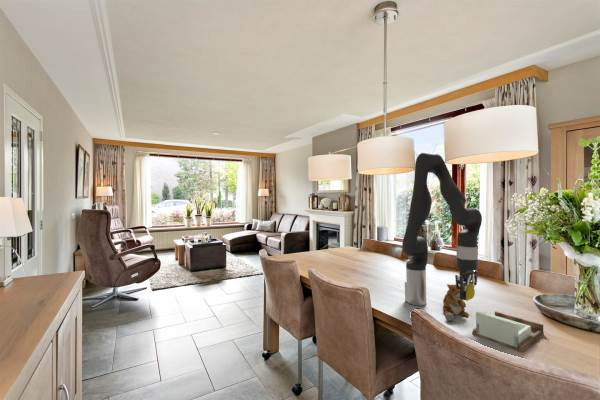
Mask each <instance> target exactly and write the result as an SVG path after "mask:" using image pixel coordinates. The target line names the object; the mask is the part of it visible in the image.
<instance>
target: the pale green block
mask: <svg viewBox="0 0 600 400" xmlns="http://www.w3.org/2000/svg"><path fill="white" fill-rule="evenodd" d="M481 312H482V311H476V312H475V328H476V333H477V334H480V335H483V336H486V337H488V338H491V339H494V340H497V341H500V342H503V343H505V344H508V345H511V346H514V347H517V348H518V347H519V345H520V344H522V343H523V342H524V341H525V340H527V339H528V338H529V337H531V326H529V325H526V324H522V323H519V322H515V321H512V320H508V319H505V318H502V317H498V316H495V314H487V313H486V314H484V313H481Z"/></svg>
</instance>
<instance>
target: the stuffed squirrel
mask: <svg viewBox="0 0 600 400" xmlns="http://www.w3.org/2000/svg"><path fill="white" fill-rule="evenodd" d="M446 287H447V288H448V290H447V291H446V293H445V295H444V298H443V301H442V302H443V303H442V304H443V305H442V311H443V314H444V315H445V314H446V313H452V314H453V315H457V316H458V315H460V316H462V317H469V316H470V314H469V313H468V312H467V311H465V308H466V307H467V304H466V302H465V300H462V299H460V293H459V289H456V284H449V283H447V284H446Z"/></svg>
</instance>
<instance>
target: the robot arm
mask: <svg viewBox="0 0 600 400" xmlns="http://www.w3.org/2000/svg"><path fill="white" fill-rule="evenodd" d="M414 164H415V165H414V175H413V176H414V181H413V189H412V197H411V200H410V205H409V206H410V207H409V213H408V219H407V223H406V229H405V232H404V236H403V239H402V245H401V247H402V251H403V253H404V255H406V256H407V257H410V256H411V258H410V259H408V261H406V264H405V270H406V271H405V272H406V273H405V274H406V277H405V278H406V281H405V282H404V301H405V302H406V303H408V304H410V305H413V306H420V307H422V306H426V305H427V268H426V267H427V265H428V260H429V259H428V258H429V257H428V256H429V255H428V254H429V251H428V250H429V248H428V242H427V240H426V239H425V237H422V236H419V233H420V230H421V228H422V227H423V225H424V224H425V222H426V220H428V218H429V216H430V213H431V210H432V209H431V208H432V205H433V204H432V203H433V200H432V196H431V193H430V190H429V188H428V176H429V174H430V173H431V174H434V175H435V177H436V178H437V179H438V181H439V190H440V194H441V196H442V198H443V200H444V201H445V203H446V204H447V206H448V208H449V211H450V212H449V213H450V215H451V218H452V220H453V222H455V223H456V224H457V225H459V226H463V227H464V228H463V230H461V231H458V233H457V236H456V237H457V238H456V240H457V242H456V243H457V244H456V258H455V260H456V261H455V262H456V268H458V269H459V274H455V277H454V278H455V285H456V289H459V290H460V299H462V300H463V301H466V288H467V286H468V285H469V283H470V284H472V285H473V287H474V288H475V287H476V286H477V284H478V276H479V275H478V274H479V271H478V269H479V268H478V267H479V266H478V265H479V258H478V257H479V251H478V236H479V235H478V234H479V233H480V230H481V225H482V221H483V215H482V213H481V211H480V210H479V209H477V208H474V207H470V208H468V207H467V208H466V207H464V205H465V204H466V203H467V199H466V197H465V195H464V194H463V192H462V191H461V190H460V188H459V187H458V186H457V184H456V182H455V181H454V179H453V177H452V174H451V173H450V171H449V169H448V166H447V165H446V161H444V159H443V157H442V156H441V155H440V154H438V153H434V152H421V153H419V154H418V155H417V157H416V160H415V163H414ZM464 282H466V283H464Z"/></svg>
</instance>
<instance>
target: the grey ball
mask: <svg viewBox="0 0 600 400" xmlns="http://www.w3.org/2000/svg"><path fill="white" fill-rule="evenodd" d="M444 317H445V320H446V321H447V322H453V321H455V316H454V314H452V313H446V314H444Z"/></svg>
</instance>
